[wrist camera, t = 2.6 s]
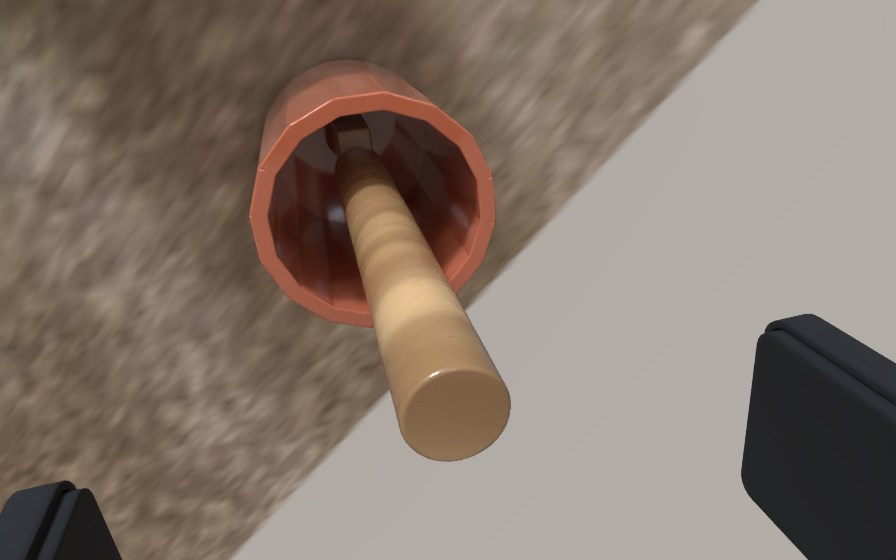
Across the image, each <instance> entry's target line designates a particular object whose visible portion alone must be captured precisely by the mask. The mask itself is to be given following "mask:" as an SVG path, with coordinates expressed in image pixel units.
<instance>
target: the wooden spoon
mask: <svg viewBox="0 0 896 560" xmlns="http://www.w3.org/2000/svg"><path fill="white" fill-rule="evenodd" d="M332 127H333V133H334V138H335V144H336V150H337V155H338V160H337V162H336V165H335V178H336V182H337V186H338V189H339V193H340V197H341V201H342V205H343V209H344V213H345V217H346V221H347V225H348V228H349V232H350V236H351V240H352V244H353V248H354V252H355V256H356V260H357V264H358V267H359V271H360V275H361V279H362V283H363V287H364V291H365V295H366V299H367V303H368V306H369V310H370V314H371V318H372V322H373V326H374V330H375V334H376V338H377V342H378V345H379V349H380V353H381V357H382V361H383V365H384V369H385V373H386V377H387V380H388V384H389V388H390V392H391V396H392V399H393V404H394V408H395V411H396V415H397V419H398V423H399V427H400V431H401V434H402V436H403V438H404V440H405V441H406V443H407V444H408V445H409V446H410V447H411V448H412V449H413V450H414V451H416V452H417V453H418V454H420V455H422V456H424V457H426V458H428V459H432V460H437V461H458V460H462V459H466V458H469V457H472V456H474V455H476V454H478V453H480V452H482V451H483V450H485V449H486V448H488V447H489V446H490V445H491V444H493V442H495V441H496V440H497V438H498V437H499V436H500V435H501V433H502V432H503V430H504V428H505V426H506V424H507V422H508V419H509V415H510V409H511V401H510V395H509V392H508V389H507V387H506V385H505V383H504V381H503V380H502V378H501V376H500V374H499V372H498V370H497V369H496V367H495V365H494V363H493V361H492V360H491V358H490V356H489V354H488V352H487V350H486V349H485V347H484V345H483V343H482V341H481V339H480V338H479V336H478V334H477V332H476V330H475V329H474V327H473V325H472V323H471V321H470V319H469V318H468V316H467V314H466V312H465V310H464V309H463V307H462V305H461V303H460V301H459V299H458V298H457V296H456V294H455V292H454V290H453V288H452V287H451V285H450V283H449V281H448V279H447V278H446V276H445V274H444V272H443V270H442V268H441V267H440V265H439V263H438V261H437V259H436V258H435V256H434V254H433V252H432V250H431V248H430V247H429V245H428V243H427V241H426V239H425V237H424V236H423V234H422V232H421V230H420V228H419V227H418V225H417V223H416V221H415V219H414V217H413V216H412V214H411V212H410V210H409V208H408V207H407V205H406V203H405V201H404V199H403V197H402V196H401V194H400V192H399V190H398V188H397V186H396V185H395V183H394V181H393V179H392V177H391V176H390V174H389V172H388V170H387V168H386V166H385V165H384V163H383V161H382V159H381V158H380V156H379V155H378V154H377V153H376V152H374V151H373V146H372V140H371V133H370V129H369V127H368V125H367V123H366V122H365V120H364V118H363V117H362V115H361V114H354V115H347V116H340V117H338V118H337V119H335V120H333V121H332Z"/></svg>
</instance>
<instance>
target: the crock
mask: <svg viewBox="0 0 896 560" xmlns="http://www.w3.org/2000/svg"><path fill="white" fill-rule="evenodd" d="M354 114H361V115H362V117H363V118H364V120H365V122H366V123H367V125H368V127H369V129H370V133H371V140H372V146H373V151H374V152H376V153H377V154H378V155H379V156H380V158H381V159H382V161H383V163H384V165H385V166H386V168H387V170H388V172H389V174H390V176H391V177H392V179H393V181H394V183H395V185H396V186H397V188H398V190H399V192H400V194H401V196H402V197H403V199H404V201H405V203H406V205H407V207H408V208H409V210H410V212H411V214H412V216H413V217H414V219H415V221H416V223H417V225H418V227H419V228H420V230H421V232H422V234H423V236H424V237H425V239H426V241H427V243H428V245H429V247H430V248H431V250H432V252H433V254H434V256H435V258H436V259H437V261H438V263H439V265H440V267H441V268H442V270H443V272H444V274H445V276H446V278H447V279H448V281H449V283H450V285H451V287H452V288H453V290H454V292H455V294H457V293H458V292H459V291H460V290H461V288H462V287H463V286H464V285H465V283H466V282H467V281H468V280H469V278H470V277H471V276H472V275H473V274H474V272H475V271H476V270H477V269H478V267H479V266H480V265H481V263H482V262H483V260H484V257H485V253H486V250H487V247H488V244H489V241H490V238H491V235H492V232H493V229H494V226H495V223H496V221H495V220H496V208H495V194H494V180H493V176H492V172H491V170H490V169H489V167H488V165H487V163H486V161H485V159H484V157H483V155H482V153H481V151H480V149H479V147H478V145H477V143H476V141H475V139H474V138H473V136H472V135H471V134H470V133H469V132H468V131H467V130H466V129H464V128H463V127H462V126H461V125H459V124H458V123H457V122H456V121H454V120H453V119H452V118H451V117H449V116H448V115H447V114H446V113H444V112H443V111H442V110H441V109H440V108H438V107H437V106H436V105H435V104H433V103H432V102H431V101H430V100H428V99H427V98H426V97H425V96H423V95H422V94H421V93H420V92H418V91H417V90H416V89H415V88H413V87H412V86H411V85H410V84H408V83H407V82H406V81H405V80H403V79H402V78H401V77H400V76H398V75H397V74H396V73H395V72H393V71H392V70H390V69H388V68H384V67H382V66H379V65H376V64H374V63H371V62H366V61H361V60H351V59H345V60H334V61H329V62H324V63H321V64H318V65H315V66H313V67H311V68H309V69H307V70H305V71H303V72H302V73H300V74H299V75H297V76H296V77H294V78H293V79H292V80H291V81H290V82H289V83H288V84H286V86H285V87H284V88H283V89H282V90H281V91H280V93H279V94H278V95H277V97H276V98H275V100H274V102H273V103H272V105H271V107H270V109H269V110H268V112H267V114H266V118H265V124H264V129H263V134H262V140H261V145H260V151H259V157H258V163H257V169H256V176H255V182H254V188H253V194H252V200H251V207H250V213H249V214H250V222H251V226H252V230H253V234H254V238H255V242H256V247H257V251H258V255H259V259H260V261H261V263H262V265H263V266H264V267H265V269H266V270H267V271H268V273H269V274H270V275H271V276H272V278H273V279H274V280H275V282H276V283H277V284H278V286H279V287H280V288H281V289H282V291H283V292H284V293H285V295H286V296H287V297H288V298H290V300H292V301H294V302H296V303H297V304H299V305H301V306H303V307H304V308H306V309H308V310H310V311H311V312H313V313H315V314H317V315H318V316H320V317H322V318H324V319H325V320H329V321H330V322H337V323H343V324H350V325H356V326H363V327H369V328H372V327H373V328H374V326H373V322H372V318H371V314H370V310H369V306H368V303H367V299H366V295H365V291H364V287H363V283H362V279H361V275H360V271H359V267H358V264H357V260H356V256H355V252H354V248H353V244H352V240H351V236H350V232H349V228H348V225H347V221H346V217H345V213H344V209H343V205H342V201H341V197H340V193H339V189H338V186H337V182H336V178H335V165H336V162H337V160H338V155H337V150H336V144H335V138H334V133H333V127H332V121H333V120H335V119H337V118H338V117H340V116H347V115H354Z"/></svg>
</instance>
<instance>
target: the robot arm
mask: <svg viewBox="0 0 896 560" xmlns="http://www.w3.org/2000/svg"><path fill="white" fill-rule="evenodd" d="M741 477H742V482H743V485H744V488H745V490H746V491H747V493H748V495H749V496H750V497H751V499H752V500H753V501H754V502H755V503H756V504H757V505H758V506H759V507H760V508H761V509H762V510H763V512H764V513H765V514H766V515H767V516H768V517H769V518H770V519H771V520H772V521H773V522H774V524H775V525H776V526H777V527H778V528H779V529H780V530H781V531H782V532H783V533H784V534H785V535H786V536H787V537H788V539H789V540H791V542H792V543H793V544H794V545H795V546H796V547H797V548H798V549H799V550H800V551H801V553H802V554H803V555H804V556H805V557H806V558H807V559H808V560H896V363H894V362H893V361H891V360H889V359H888V358H886V357H884V356H883V355H881V354H879V353H878V352H876V351H874V350H873V349H871V348H869V347H868V346H866V345H864V344H863V343H861V342H860V341H858V340H856V339H854V338H853V337H851V336H850V335H848V334H846V333H845V332H843V331H841V330H840V329H838V328H836V327H835V326H833V325H831V324H829V323H828V322H826V321H825V320H823V319H821V318H820V317H818V316H816V315H813V314H803V315H799V316H794V317H790V318H785V319H781V320H777V321H773V322H771V323H769V325H768V326H767V327H766V329H765V333H764V334H762V335H761V336H760V337H759V339H758V342H757V347H756V356H755V364H754V372H753V380H752V388H751V397H750V404H749V413H748V420H747V429H746V437H745V445H744V453H743V461H742V469H741ZM0 560H122V558H121V556H120V554H119V552H118V549H117V547H116V545H115V543H114V540H113V538H112V536H111V534H110V531H109V529H108V527H107V525H106V522H105V520H104V518H103V516H102V513H101V511H100V509H99V507H98V504H97V502H96V500H95V498H94V496H93V494H92V492H91V491H90V490H89V489H87V488H83V489H78V490H77V489H76V487H75V485H74V484H72V483H71V482H70V481H65V480H64V481H60V482H56V483H51V484H47V485H42V486H38V487H33V488H29V489H24V490H20V491H17V492H15V493H13V494H12V495H11V497H10V498H9V499H8V501H7V503H6V505H5V506H4V508H3V510H2V512H1V514H0Z"/></svg>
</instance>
